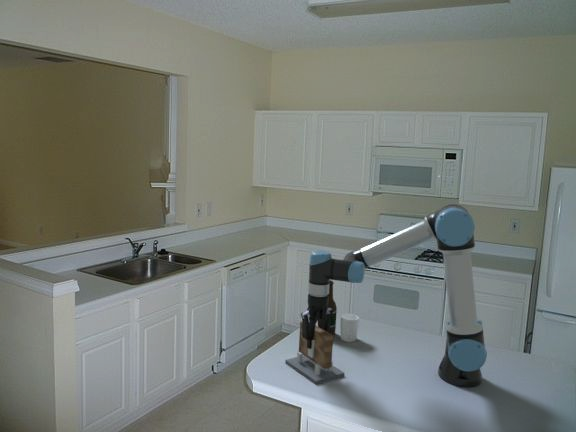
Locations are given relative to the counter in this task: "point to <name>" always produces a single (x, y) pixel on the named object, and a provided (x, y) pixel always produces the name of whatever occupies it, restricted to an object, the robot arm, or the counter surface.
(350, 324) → the white cup
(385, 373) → the counter surface
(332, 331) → the beer bottle
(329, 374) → the board
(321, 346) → the brown wooden board
